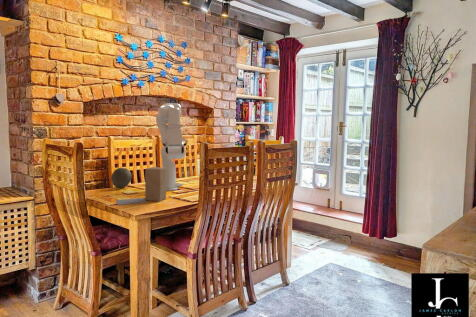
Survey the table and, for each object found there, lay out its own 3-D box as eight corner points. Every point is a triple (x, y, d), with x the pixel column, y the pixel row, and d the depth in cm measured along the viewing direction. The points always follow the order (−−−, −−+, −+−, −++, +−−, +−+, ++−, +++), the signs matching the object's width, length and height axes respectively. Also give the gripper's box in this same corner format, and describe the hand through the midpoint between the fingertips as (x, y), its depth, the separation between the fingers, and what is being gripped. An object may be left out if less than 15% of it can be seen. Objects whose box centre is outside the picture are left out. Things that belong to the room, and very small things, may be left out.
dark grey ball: (121, 190, 256) (120, 169, 254) (107, 188, 262) (106, 168, 261) (135, 187, 268) (135, 167, 267) (122, 185, 275) (121, 166, 273)
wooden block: (160, 201, 221) (160, 169, 219) (145, 200, 223) (145, 168, 221) (166, 198, 231) (166, 167, 229) (152, 197, 233) (152, 166, 231)
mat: (143, 198, 231) (143, 197, 231) (147, 202, 218) (147, 202, 218) (116, 200, 224) (116, 199, 224) (117, 205, 211) (117, 204, 211)
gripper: (187, 126, 235) (187, 152, 237) (160, 127, 231) (160, 153, 232) (188, 126, 228) (188, 153, 230) (161, 127, 224) (161, 154, 225)
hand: (174, 153), depth 231 cm, fingers open, 9 cm apart
